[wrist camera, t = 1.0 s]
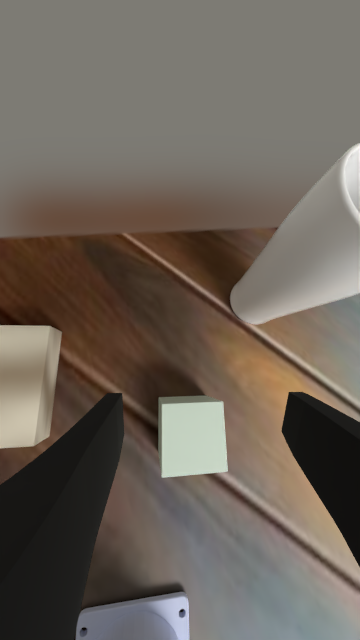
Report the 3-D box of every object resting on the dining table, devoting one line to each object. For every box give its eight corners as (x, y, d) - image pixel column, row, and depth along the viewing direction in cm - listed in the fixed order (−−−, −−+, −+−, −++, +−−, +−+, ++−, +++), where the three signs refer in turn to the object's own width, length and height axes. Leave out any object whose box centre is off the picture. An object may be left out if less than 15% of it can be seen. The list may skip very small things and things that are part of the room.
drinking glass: (231, 337, 23) (379, 272, 8) (215, 279, 24) (316, 136, 10) (286, 326, 24) (497, 252, 9) (268, 271, 25) (427, 135, 11)
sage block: (208, 447, 20) (227, 471, 15) (158, 451, 19) (161, 477, 14) (205, 395, 21) (223, 401, 16) (158, 397, 20) (161, 404, 15)
